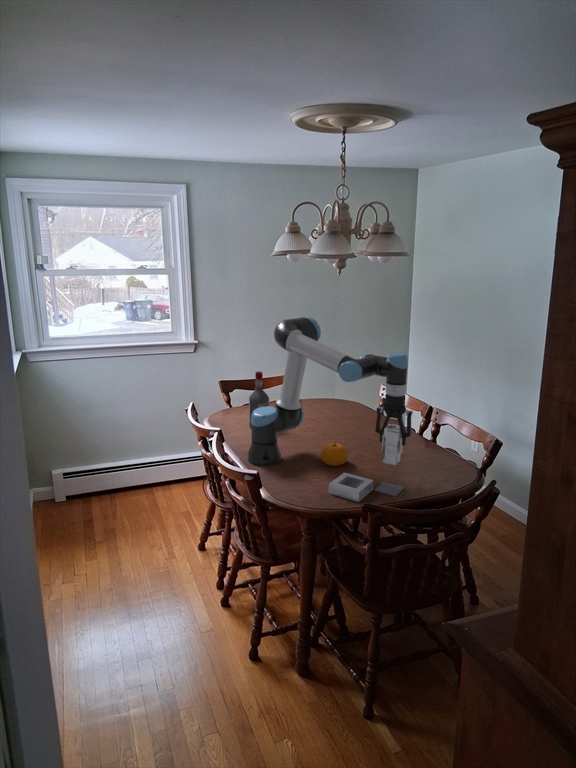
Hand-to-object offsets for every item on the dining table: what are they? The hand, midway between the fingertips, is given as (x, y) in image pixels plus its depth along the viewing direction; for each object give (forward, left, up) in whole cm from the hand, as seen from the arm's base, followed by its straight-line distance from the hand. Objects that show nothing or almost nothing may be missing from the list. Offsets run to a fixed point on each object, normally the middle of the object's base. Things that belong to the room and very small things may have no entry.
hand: (392, 451), depth 205 cm
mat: (0, 0, -16) cm, 16 cm away
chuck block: (-12, -10, -16) cm, 23 cm away
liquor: (-87, +31, -17) cm, 94 cm away
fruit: (-31, +11, -17) cm, 37 cm away
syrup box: (0, 0, -5) cm, 5 cm away
